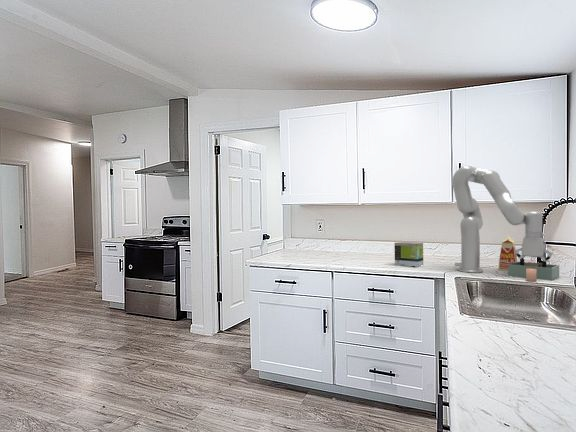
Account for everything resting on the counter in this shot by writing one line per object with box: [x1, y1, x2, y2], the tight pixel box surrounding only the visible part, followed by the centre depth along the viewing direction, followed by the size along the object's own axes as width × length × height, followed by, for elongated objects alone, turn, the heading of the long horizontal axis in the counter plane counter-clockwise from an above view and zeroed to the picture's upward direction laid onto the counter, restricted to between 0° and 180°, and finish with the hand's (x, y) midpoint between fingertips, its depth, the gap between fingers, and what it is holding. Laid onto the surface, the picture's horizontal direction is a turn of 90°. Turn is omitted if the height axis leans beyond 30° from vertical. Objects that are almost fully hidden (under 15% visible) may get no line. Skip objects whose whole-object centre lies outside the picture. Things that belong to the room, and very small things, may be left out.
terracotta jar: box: [525, 268, 538, 283], centre depth 191 cm, size 4×4×6 cm
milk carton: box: [497, 234, 518, 272], centre depth 223 cm, size 9×9×20 cm
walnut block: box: [525, 261, 542, 267], centre depth 204 cm, size 6×6×6 cm
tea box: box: [394, 241, 424, 268], centre depth 245 cm, size 15×10×15 cm
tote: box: [508, 261, 560, 281], centre depth 204 cm, size 20×14×6 cm
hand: (532, 267), depth 203 cm, fingers open, 9 cm apart
